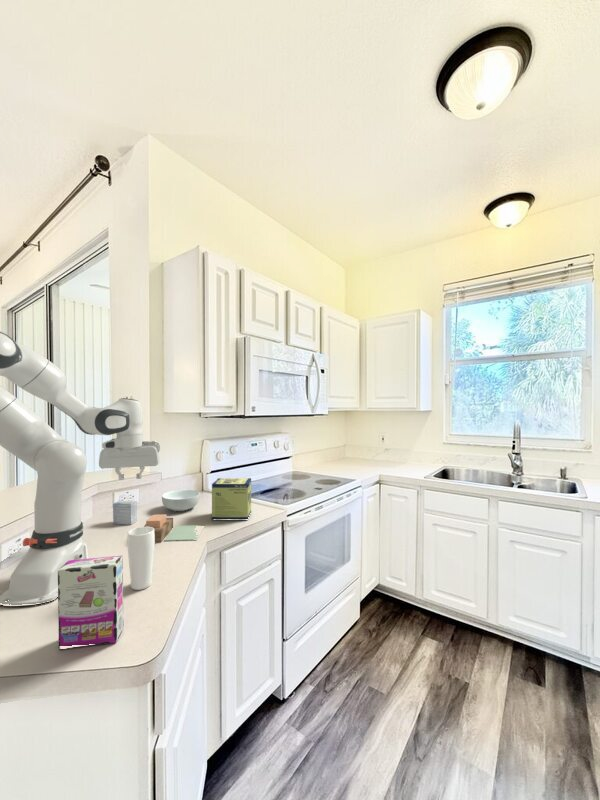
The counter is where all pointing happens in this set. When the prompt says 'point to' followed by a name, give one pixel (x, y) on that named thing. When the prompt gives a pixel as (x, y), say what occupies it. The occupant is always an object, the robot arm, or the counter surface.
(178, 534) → the sage mat
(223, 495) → the protein box
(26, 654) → the counter surface
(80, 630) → the candy bar box
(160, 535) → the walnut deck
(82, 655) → the counter surface
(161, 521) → the terracotta tile
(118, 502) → the medicine box
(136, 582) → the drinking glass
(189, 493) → the cereal bowl
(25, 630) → the counter surface
